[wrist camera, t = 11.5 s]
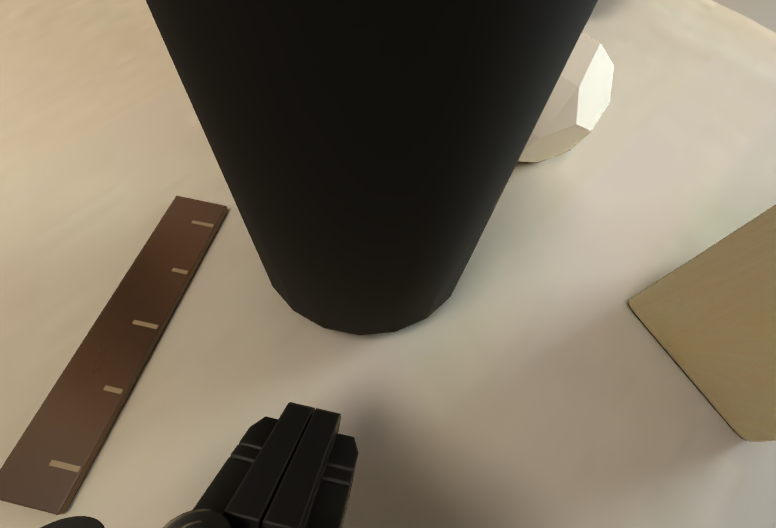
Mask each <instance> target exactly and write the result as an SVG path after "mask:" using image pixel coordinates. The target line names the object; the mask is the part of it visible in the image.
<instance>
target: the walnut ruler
mask: <svg viewBox="0 0 776 528" xmlns="http://www.w3.org/2000/svg"><path fill="white" fill-rule="evenodd" d="M227 211H228V209H227V207H226V206H223V205H218V204H213V203H209V202H204V201H199V200H194V199H190V198H185V197H180V196H176V197H175V199H174V200H173V202H172V204H171V205H170V207H169V208H168V210H167V211H166V213H165V214H164V216H163V218H162V219H161V221H160V222H159V224H158V225H157V227H156V228H155V230H154V232H153V233H152V235H151V236H150V238H149V239H148V241H147V242H146V244H145V245H144V247H143V249H142V250H141V252H140V253H139V255H138V256H137V258H136V259H135V261H134V263H133V264H132V266H131V267H130V269H129V270H128V272H127V273H126V275H125V277H124V278H123V280H122V281H121V283H120V284H119V286H118V287H117V289H116V291H115V292H114V294H113V295H112V297H111V298H110V300H109V301H108V303H107V305H106V306H105V308H104V309H103V311H102V312H101V314H100V315H99V317H98V319H97V320H96V322H95V323H94V325H93V326H92V328H91V329H90V331H89V333H88V334H87V336H86V337H85V339H84V340H83V342H82V343H81V345H80V347H79V348H78V350H77V351H76V353H75V354H74V356H73V357H72V359H71V361H70V362H69V364H68V365H67V367H66V368H65V370H64V371H63V373H62V375H61V376H60V378H59V379H58V381H57V382H56V384H55V385H54V387H53V389H52V390H51V392H50V393H49V395H48V396H47V398H46V399H45V401H44V402H43V404H42V406H41V407H40V409H39V410H38V412H37V413H36V415H35V416H34V418H33V420H32V421H31V423H30V424H29V426H28V427H27V429H26V430H25V432H24V434H23V435H22V437H21V438H20V440H19V441H18V443H17V444H16V446H15V448H14V449H13V451H12V452H11V454H10V455H9V457H8V458H7V460H6V462H5V463H4V465H3V466H2V468H1V469H0V500H1V501H5V502H9V503H13V504H17V505H21V506H25V507H29V508H33V509H37V510H41V511H45V512H48V513H52V514H56V515H59V514H64V513H65V512H66V510H67V508H68V506H69V505H70V503H71V501H72V499H73V497H74V495H75V493H76V492H77V490H78V488H79V486H80V484H81V482H82V480H83V479H84V477H85V475H86V473H87V471H88V469H89V467H90V466H91V464H92V462H93V460H94V458H95V456H96V454H97V453H98V451H99V449H100V447H101V445H102V443H103V441H104V440H105V438H106V436H107V434H108V432H109V430H110V428H111V427H112V425H113V423H114V421H115V419H116V417H117V415H118V414H119V412H120V410H121V408H122V406H123V404H124V402H125V401H126V399H127V397H128V395H129V393H130V391H131V389H132V388H133V386H134V384H135V382H136V380H137V378H138V376H139V375H140V373H141V371H142V369H143V367H144V365H145V363H146V362H147V360H148V358H149V356H150V354H151V352H152V350H153V349H154V347H155V345H156V343H157V341H158V339H159V337H160V336H161V334H162V332H163V330H164V328H165V326H166V324H167V323H168V321H169V319H170V317H171V315H172V313H173V311H174V310H175V308H176V306H177V304H178V302H179V300H180V298H181V297H182V295H183V293H184V291H185V289H186V287H187V285H188V284H189V282H190V280H191V278H192V276H193V274H194V272H195V271H196V269H197V267H198V265H199V263H200V261H201V259H202V258H203V256H204V254H205V252H206V250H207V248H208V246H209V245H210V243H211V241H212V239H213V237H214V235H215V233H216V232H217V230H218V228H219V226H220V224H221V222H222V221H223V219H224V217H225V215H226V213H227Z"/></svg>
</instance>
